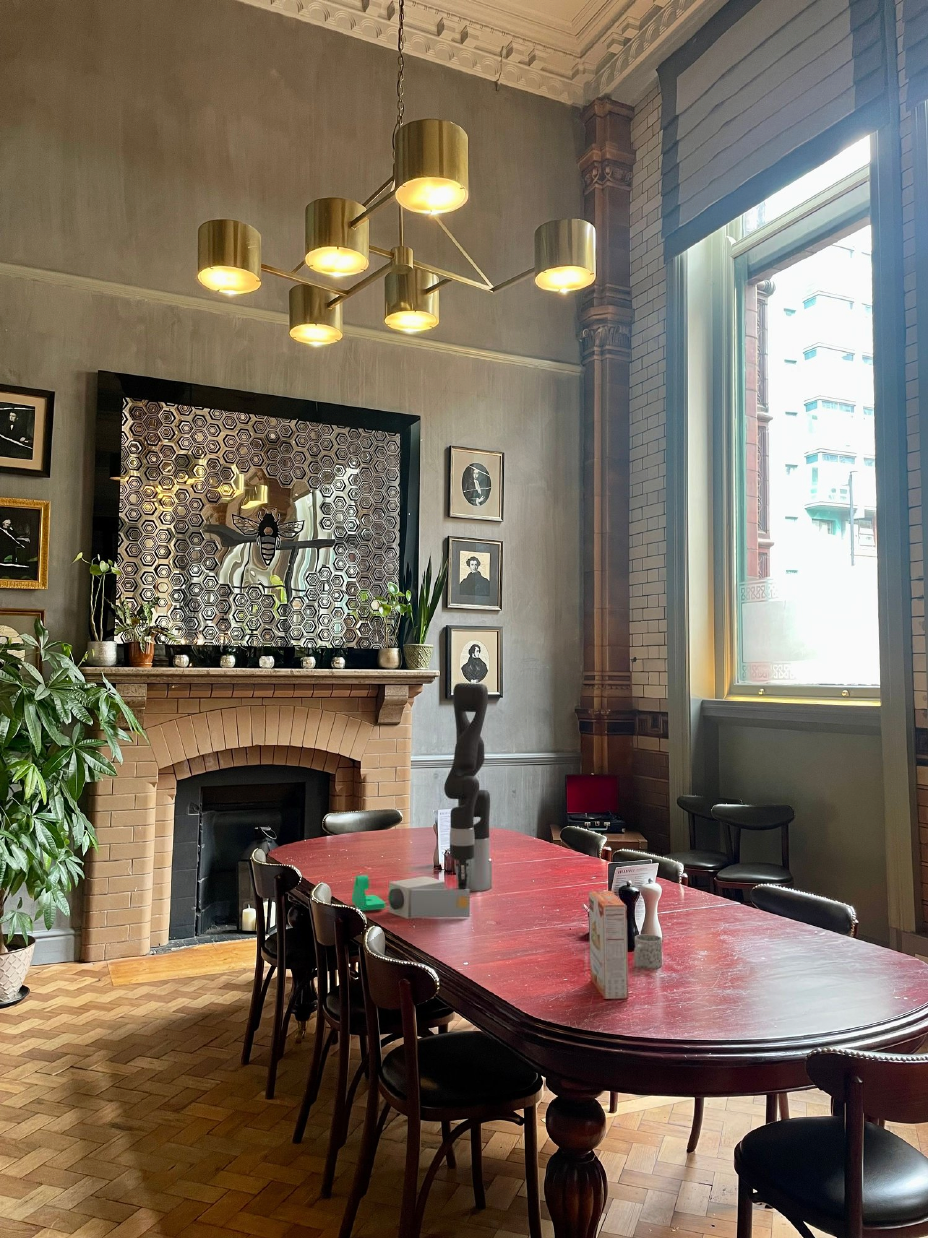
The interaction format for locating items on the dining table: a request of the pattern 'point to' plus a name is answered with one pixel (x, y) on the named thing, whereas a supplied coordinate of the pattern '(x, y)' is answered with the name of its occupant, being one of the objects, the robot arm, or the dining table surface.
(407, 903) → the camera housing
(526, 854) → the dining table surface
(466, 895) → the side door
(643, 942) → the mug
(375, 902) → the camera mount
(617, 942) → the cracker box
